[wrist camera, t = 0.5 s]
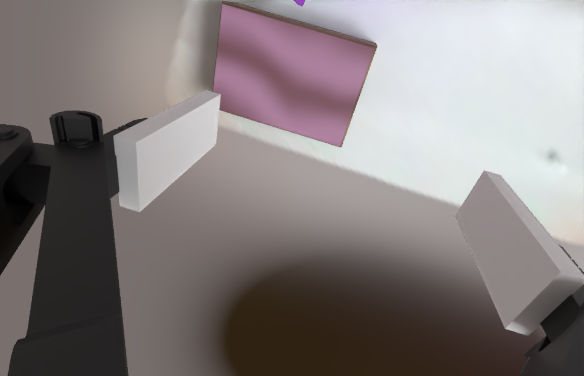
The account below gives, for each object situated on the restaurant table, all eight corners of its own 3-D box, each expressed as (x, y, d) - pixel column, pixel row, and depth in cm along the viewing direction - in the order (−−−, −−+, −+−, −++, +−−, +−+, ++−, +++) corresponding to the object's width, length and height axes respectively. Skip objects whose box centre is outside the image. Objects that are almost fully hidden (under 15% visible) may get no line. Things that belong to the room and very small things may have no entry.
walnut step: (236, 2, 34) (220, 1, 30) (375, 43, 33) (377, 46, 30) (224, 99, 40) (209, 108, 36) (343, 136, 39) (340, 148, 35)
